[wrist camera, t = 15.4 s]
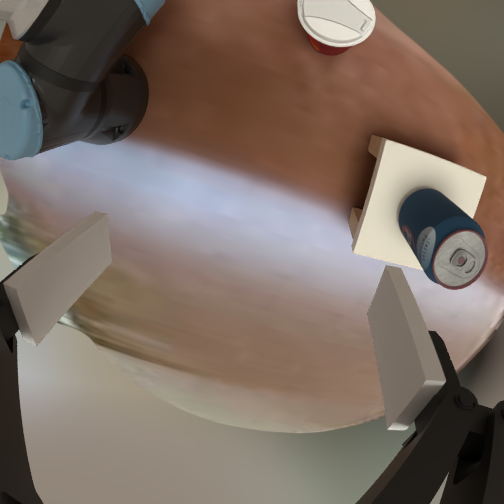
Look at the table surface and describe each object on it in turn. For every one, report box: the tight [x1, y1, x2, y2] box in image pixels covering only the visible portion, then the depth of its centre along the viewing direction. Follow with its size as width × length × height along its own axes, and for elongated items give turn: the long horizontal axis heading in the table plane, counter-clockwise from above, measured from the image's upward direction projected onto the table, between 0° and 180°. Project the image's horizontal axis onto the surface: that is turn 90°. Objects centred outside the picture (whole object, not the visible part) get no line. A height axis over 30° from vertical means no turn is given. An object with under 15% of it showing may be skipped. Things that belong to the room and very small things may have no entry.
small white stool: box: [348, 135, 487, 271], centre depth 38 cm, size 14×14×10 cm
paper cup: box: [297, 0, 375, 55], centre depth 29 cm, size 8×8×14 cm
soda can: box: [398, 188, 488, 290], centre depth 28 cm, size 7×7×12 cm
